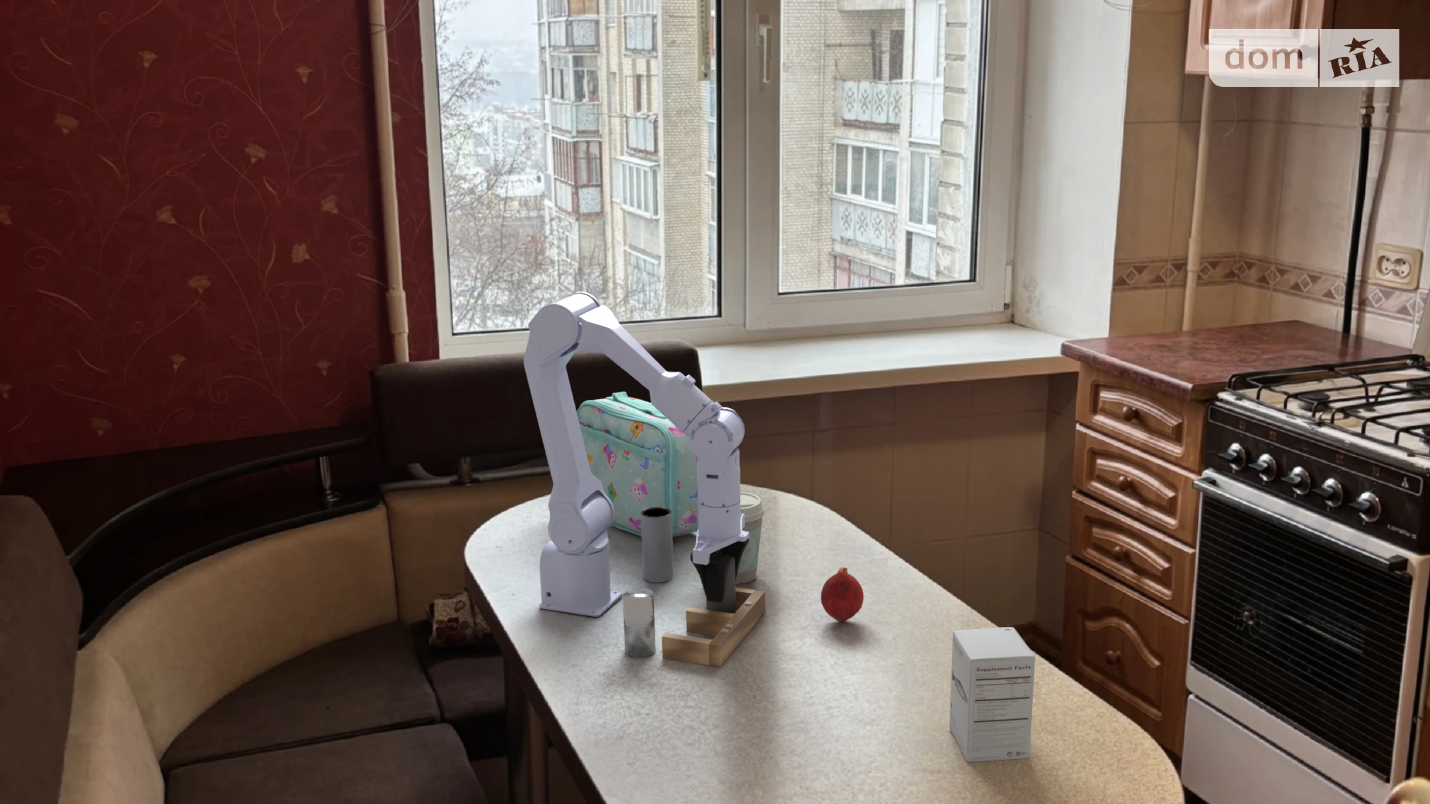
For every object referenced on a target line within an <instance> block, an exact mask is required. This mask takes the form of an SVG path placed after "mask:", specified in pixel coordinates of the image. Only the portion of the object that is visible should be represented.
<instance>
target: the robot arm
mask: <svg viewBox="0 0 1430 804" xmlns="http://www.w3.org/2000/svg"><path fill="white" fill-rule="evenodd" d="M527 326H528V331H529V336H528V341H527V345H526V348H525V353H524V356H523V367H524V370H525V374H526V379H527V383H528V387H529V390H530V395H531V399H532V403H533V406H534V411H535V414H536V418H537V422H538V426H539V430H540V435H541V439H542V443H543V447H544V450H545V456H546V459H547V463H548V466H549V471H550V476H551V478H552V483H553V484H552V485H553V486H552V490H551V493H550V497H549V499H548V506H547V507H548V511H549V520H548V526H547V531H548V536H549V538H550V540H548V541H547V542H546V544H545V545H544V547H543V548H542V550H541V554H540V558H539V579H540V580H539V581H540V596H541V602H540V603H539V604H538V607H539V609H543V610H550V611H555V612H561V613H562V612H563V613H569V614H575V615H581V616H589V617H595V618H598V617H600V616H601V615H603V614H604V613H605V612H606V611H607V610H608V609H609V608H610V607H612V606H613V605H614V604H615V602H617V601H618V600H619V599H620V598H621V597H623V592H621V591H616V590H612V589H611V569H610V565H611V564H610V544H609V537H608V528H609V527H611V526H610V525H611V524H612V522H613V519H614V514H615V513H614V507H613V504H612V502H611V500H610V499H609V498H608V497H607V495H606V494H605V492H604V490H603V487H602V483H601V481H600V480H599V479H598V478H596V477H595V476H594V475H593V474H592V473H591V470H590V466H589V462H588V458H587V454H586V450H585V445H584V441H583V437H582V433H581V429H580V425H579V421H578V416H577V409H576V404H575V401H574V396H573V391H572V388H571V387H572V386H571V384H570V380H569V375H568V371H567V364H568V363H569V361H570V360H571V358H572V356H574V354H575V353H576V352H577V353H596V354H604V355H605V356H606V357H608V358H609V359H610V360H611V361H612V362H614V363H615V364H616V365H617V366H618V367H620V368H621V369H622V370H623V371H625V372H626V373H628V374H629V375H630V377H633V378H634V379H635V380H636V381H637V382H639V383H640V384H641V385H642V386H643V387H645V388H646V389H647V390H648V391H649V397H650V403H651V404H652V405H653V406H654V407H655V408H656V409H657V410H659V411H660V412H661V413H662V414H663V415H664V416H665V417H666V418H667V419H668V420H670V421H671V422H672V423H673V424H674V425H675V426H676V427H677V428H678V429H679V430H681V431H682V432H683V433H684V434H685V435H686V436H688V437H689V438H691V439H690V440H689V442H690V447H691V449H692V451H693V453H694V454H695V455H696V457H697V487H698V530H697V532H696V539H695V545H694V547H693V549H692V551H691V552H690V553H689V560H690V562H691V564H692V565H693V566H694V568H695V570H696V571H697V573H698V577H700V582H701V585H702V589H703V592H704V595H705V599H707V600H706V602H707V601H713V602H722V600H723V597H724V592H725V582H726V576H727V571H728V568H729V565H730V563H731V561H732V559H733V557H734V558H735V583H736V578H737V573H738V569H739V564H740V561H741V557H742V555H743V552H744V550H745V548H746V546H747V544H748V542H749V532H746V531H742V529H743V528H744V527H745V514H740V492H741V467H740V449H739V448H738V447H739V445H740V444H741V443H742V441H743V439H744V436H745V434H746V433H745V431H746V430H745V424H744V422H743V419H741V417H740V416H739V414H738V413H737V411H736V410H734V409H733V408H729V407H727V406H726V407H725V406H724V407H723V406H722V405H721V404H720V403H719V402H718V401H715V402H714V401H713V400H712V399H711V398H709V397H708V395H707V394H705V393H704V392H703V391H702V390H701V389H700V388H699V387H697V385H695V383H696V379H695V378H694V377H692V375H690V374H688V375H686V376H685V375H684V374H683V373H682V372H680V371H676V372H675V371H667V370H666V369H665V368H664V367H663V366H662V365H661V364H660V363H659V361H657V360H656V359H655V358H654V357H653V356H652V355H651V354H650V353H649V352H648V351H647V350H646V349H645V348H644V347H643V346H642V345H641V344H640V343H639V342H638V341H637V340H636V338H634V337H633V336H632V335H631V334H630V332H628V331H627V330H626V329H625V328H624V327H623V326H622V325H621V324H620V322H619V321H618V320H617V318H616V317H615V315H614V313H613V312H612V310H611V309H610V308H608V307H607V306H605V305H603V304H601V303H600V301H599V300H598V299H597V297H595V296H594V295H592V294H590V293H589V292H585V291H576V292H572V293H570V294H568V296H566V297H564V298H562V299H560V300H557V301H555V302H553V303H548V304H546V305H544V306H542V307H541V308H539V309H538V311H537V313H535V315H534V316H533V317H532V319H531V320H529V322H528V324H527ZM722 554H725V555H722ZM728 555H730V556H728Z"/></svg>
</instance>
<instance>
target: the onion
mask: <svg viewBox="0 0 1430 804" xmlns="http://www.w3.org/2000/svg"><path fill="white" fill-rule="evenodd" d="M848 569H849V568H847V567H846V566H844V565H842V566H840V567H839V569H838V571H837V573H835V574H833V575H832V576H830V577H828V578H827V579H826V581H825V582H824V584H823V586H822V589H821V593H820V602H821V605H822V607H823V609H824V611H825V613H827V614H828V616H830V617H831V618H832V619H834V620H836V621H838V622H839V623H845V622H847V621H849V620H850V619H852V618H853V617H854V616H855V615H857V614H858V613H859V612H860V611H861V609H862V608H863V604H864V597H865V595H864V591H863V590H864V589H863V587H862V585H861V583H860V582H859V581H858V580H857V578H856V577H854V575H852V574H850V573H849V572H848V571H849V570H848Z"/></svg>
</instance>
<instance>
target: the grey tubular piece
mask: <svg viewBox="0 0 1430 804" xmlns="http://www.w3.org/2000/svg"><path fill="white" fill-rule="evenodd" d="M641 534H642V537H641V554H642V555H641V558H642V559H641V561H642V577H643V579H644V581H646V582H650V583H665V582H668V581H670V580H671V579H673V577H674V552H673V551H674V550H673V537H672V512H671V510H670V509H668V508H664V507H651V508H647V509H644V510H643V511H642V512H641Z"/></svg>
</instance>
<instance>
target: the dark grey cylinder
mask: <svg viewBox="0 0 1430 804" xmlns="http://www.w3.org/2000/svg"><path fill="white" fill-rule="evenodd" d="M722 555H725V554H722ZM728 556H730V555H728ZM735 587H736V584H735V558H734V557H733V559H732V561H731V563H730V565H729V568H728V571H727V576H726V582H725V592H724V597H723V600H722V602H713V601H707V599H706V598H705V599H706V610H712V611H719V612H725V613H732V614H735V613H736V612H737V611H736V589H735Z"/></svg>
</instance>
